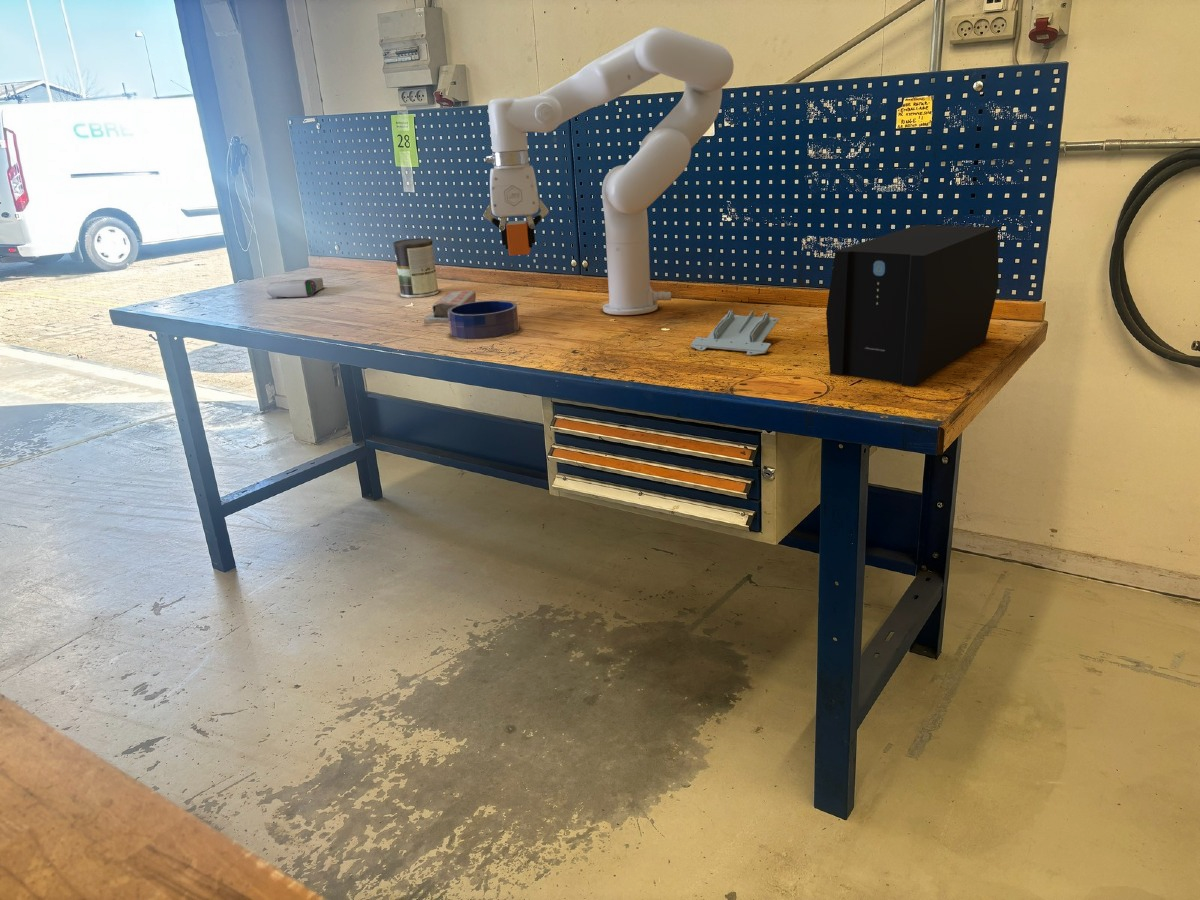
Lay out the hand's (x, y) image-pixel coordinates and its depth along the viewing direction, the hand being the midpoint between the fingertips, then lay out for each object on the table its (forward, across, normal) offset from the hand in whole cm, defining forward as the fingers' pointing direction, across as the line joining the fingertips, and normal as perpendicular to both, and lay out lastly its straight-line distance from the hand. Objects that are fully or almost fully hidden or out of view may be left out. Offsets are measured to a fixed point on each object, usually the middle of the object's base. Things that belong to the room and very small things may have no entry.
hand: (519, 246), depth 187 cm
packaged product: (+16, -17, +8) cm, 25 cm away
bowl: (+16, -8, -12) cm, 21 cm away
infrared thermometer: (+16, -68, +53) cm, 87 cm away
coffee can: (+16, -31, +40) cm, 53 cm away
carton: (+1, 0, 0) cm, 1 cm away
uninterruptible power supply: (+16, +70, -49) cm, 87 cm away
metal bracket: (+16, +43, -34) cm, 57 cm away
